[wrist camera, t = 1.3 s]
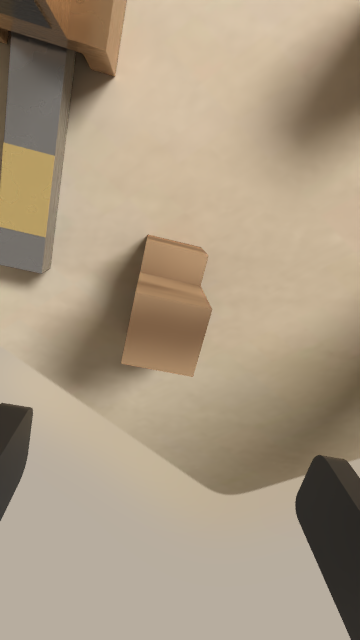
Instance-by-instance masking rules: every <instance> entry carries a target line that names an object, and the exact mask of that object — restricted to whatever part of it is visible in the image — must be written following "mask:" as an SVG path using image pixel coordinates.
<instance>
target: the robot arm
mask: <svg viewBox="0 0 360 640" xmlns="http://www.w3.org/2000/svg"><path fill="white" fill-rule="evenodd" d="M32 416H33V409H32V408H30V407H24V406H18V405H12V404H5V403H1V404H0V521H1V519H2V517H3V515H4V513H5V510H6V508H7V506H8V504H9V502H10V500H11V498H12V496H13V494H14V492H15V490H16V488H17V486H18V484H19V482H20V479H21V477H22V474H23V471H24V468H25V465H26V461H27V456H28V449H29V441H30V432H31V424H32ZM296 514H297V518H298V520H299V522H300V525H301V527H302V529H303V532H304V534H305V536H306V538H307V541H308V543H309V545H310V548H311V550H312V552H313V554H314V557H315V559H316V561H317V563H318V566H319V568H320V570H321V572H322V574H323V577H324V579H325V582H326V584H327V586H328V588H329V591H330V593H331V595H332V597H333V600H334V602H335V604H336V606H337V609H338V611H339V613H340V616H341V618H342V620H343V622H344V625H345V627H346V629H347V631H348V633H349V636H350V638H351V640H360V478H359V477H358V475H357V474H356V472H355V471H354V470H353V468H352V467H351V466H350V464H349V463H348V462H347V461H346V460H344V459H339V458H333V457H327V456H321V455H318V456H316V457H315V458H314V459H313V461H312V463H311V465H310V467H309V469H308V471H307V474H306V476H305V478H304V480H303V482H302V485H301V487H300V489H299V491H298V493H297V496H296Z"/></svg>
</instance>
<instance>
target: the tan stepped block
mask: <svg viewBox="0 0 360 640" xmlns="http://www.w3.org/2000/svg"><path fill="white" fill-rule="evenodd" d="M207 259H208V255H207V254H206V253H205V252H204V250H203V249H202V248H201V247H197V246H193V245H189V244H185V243H181V242H176V241H172V240H168V239H164V238H160V237H156V236H151V235H148V237H147V241H146V246H145V250H144V255H143V260H142V265H141V270H140V274H139V279H138V283H137V288H136V292H135V297H134V302H133V307H132V312H131V316H130V321H129V326H128V331H127V336H126V341H125V346H124V350H123V355H122V360H121V364H126V365H131V366H137V367H142V368H148V369H153V370H159V371H164V372H169V373H175V374H180V375H186V376H191V377H193V375H194V371H195V368H196V364H197V361H198V357H199V354H200V350H201V347H202V343H203V340H204V336H205V333H206V329H207V326H208V322H209V319H210V315H211V312H212V308H211V306H210V304H209V302H208V300H207V298H206V296H205V294H204V292H203V290H202V288H201V282H202V278H203V274H204V271H205V267H206V263H207Z"/></svg>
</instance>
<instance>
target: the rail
mask: <svg viewBox="0 0 360 640" xmlns="http://www.w3.org/2000/svg"><path fill="white" fill-rule="evenodd" d="M126 2H127V0H0V42H2V43H5V44H7V43H8V30H9V31H11V46H10V61H9V76H8V90H7V105H6V120H5V135H4V142H3V154H2V169H1V183H0V265H4V266H8V267H13V268H18V269H22V270H27V271H32V272H36V273H41V274H42V273H43V272H45V271H46V270H48V269H50V266H51V258H52V249H53V241H54V233H55V224H56V216H57V208H58V199H59V191H60V183H61V175H62V166H63V158H64V150H65V141H66V133H67V125H68V116H69V108H70V100H71V91H72V83H73V75H74V66H75V58H76V51H77V52H80V53H83V55H84V57H85V59H86V61H87V63H88V65H89V67H90V69H91V70H94V71H98V72H101V73H104V74H108V75H111V76H114V77H115V73H116V67H117V60H118V54H119V47H120V41H121V34H122V28H123V21H124V15H125V8H126Z"/></svg>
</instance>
